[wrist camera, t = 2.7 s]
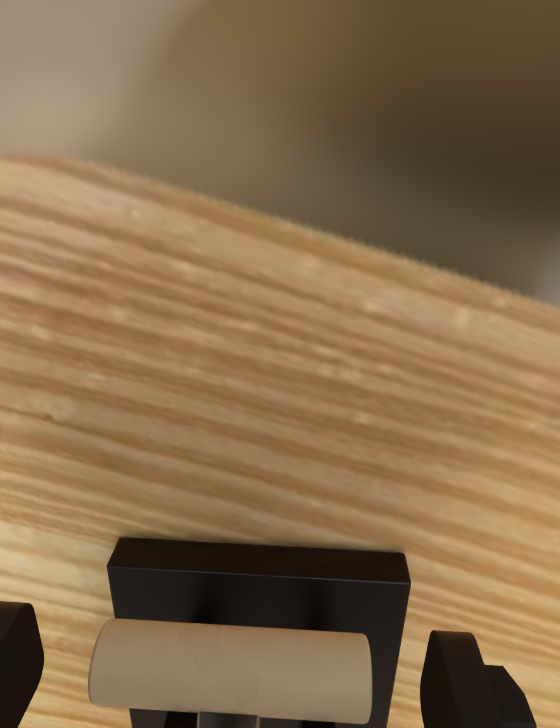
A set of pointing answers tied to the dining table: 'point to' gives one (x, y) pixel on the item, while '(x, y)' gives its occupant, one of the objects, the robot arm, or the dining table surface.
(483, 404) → the dining table surface
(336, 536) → the dining table surface
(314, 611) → the bracket
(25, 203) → the dining table surface
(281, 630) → the lever
